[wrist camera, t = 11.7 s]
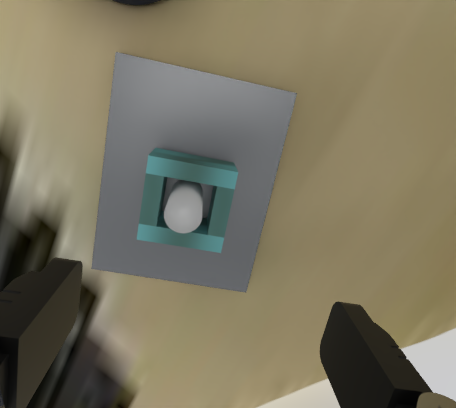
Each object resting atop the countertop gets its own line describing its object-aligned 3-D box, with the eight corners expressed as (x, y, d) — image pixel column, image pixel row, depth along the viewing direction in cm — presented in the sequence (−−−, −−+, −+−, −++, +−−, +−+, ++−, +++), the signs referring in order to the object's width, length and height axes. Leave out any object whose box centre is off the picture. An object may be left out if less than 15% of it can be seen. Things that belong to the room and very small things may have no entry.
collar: (234, 162, 27) (238, 172, 24) (219, 234, 29) (220, 252, 25) (155, 147, 26) (148, 155, 23) (144, 222, 28) (136, 239, 25)
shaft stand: (292, 93, 29) (329, 92, 20) (244, 284, 34) (257, 348, 25) (120, 54, 27) (82, 35, 19) (96, 260, 32) (57, 321, 24)
